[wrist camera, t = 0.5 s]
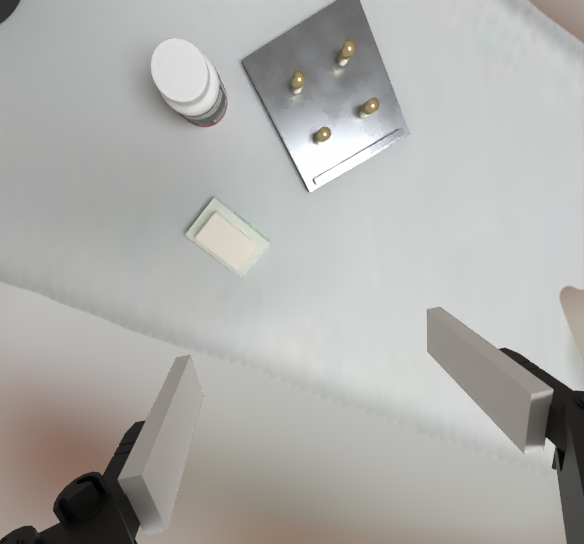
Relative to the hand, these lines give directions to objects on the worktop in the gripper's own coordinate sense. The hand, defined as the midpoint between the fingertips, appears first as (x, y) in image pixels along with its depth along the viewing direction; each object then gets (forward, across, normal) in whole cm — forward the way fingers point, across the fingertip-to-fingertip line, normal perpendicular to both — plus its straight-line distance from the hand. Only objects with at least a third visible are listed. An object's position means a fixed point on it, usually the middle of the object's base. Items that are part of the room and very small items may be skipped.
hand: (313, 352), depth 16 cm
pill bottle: (+26, -6, +19) cm, 32 cm away
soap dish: (+25, -7, +3) cm, 26 cm away
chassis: (+25, +8, +17) cm, 31 cm away
